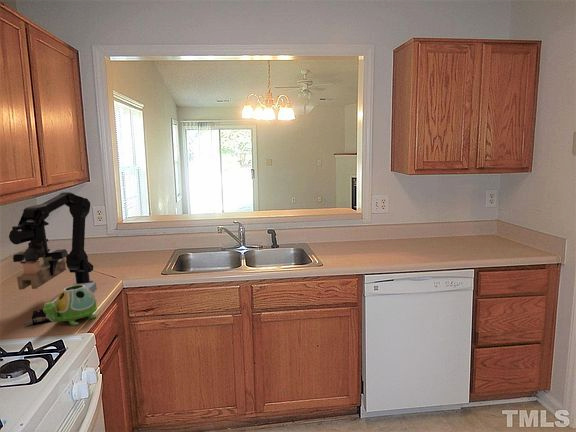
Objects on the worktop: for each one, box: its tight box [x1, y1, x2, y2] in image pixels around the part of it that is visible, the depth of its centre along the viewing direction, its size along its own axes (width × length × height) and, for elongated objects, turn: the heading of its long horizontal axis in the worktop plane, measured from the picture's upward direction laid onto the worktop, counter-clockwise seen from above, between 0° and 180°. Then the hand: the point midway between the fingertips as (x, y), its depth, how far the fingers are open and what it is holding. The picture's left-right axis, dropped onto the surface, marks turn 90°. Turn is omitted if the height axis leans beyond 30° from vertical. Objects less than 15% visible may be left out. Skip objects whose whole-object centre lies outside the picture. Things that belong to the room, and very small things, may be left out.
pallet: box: [16, 258, 67, 291], centre depth 172 cm, size 24×6×5 cm, turn 3°
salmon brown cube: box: [22, 260, 41, 274], centre depth 164 cm, size 4×4×4 cm
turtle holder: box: [42, 284, 98, 326], centre depth 152 cm, size 12×18×12 cm
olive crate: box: [42, 251, 51, 264], centre depth 178 cm, size 4×4×4 cm
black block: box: [23, 308, 53, 328], centre depth 153 cm, size 12×7×5 cm, turn 116°
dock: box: [51, 282, 98, 313], centre depth 174 cm, size 25×9×3 cm, turn 5°
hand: (43, 276), depth 172 cm, fingers closed on pallet, 6 cm apart
